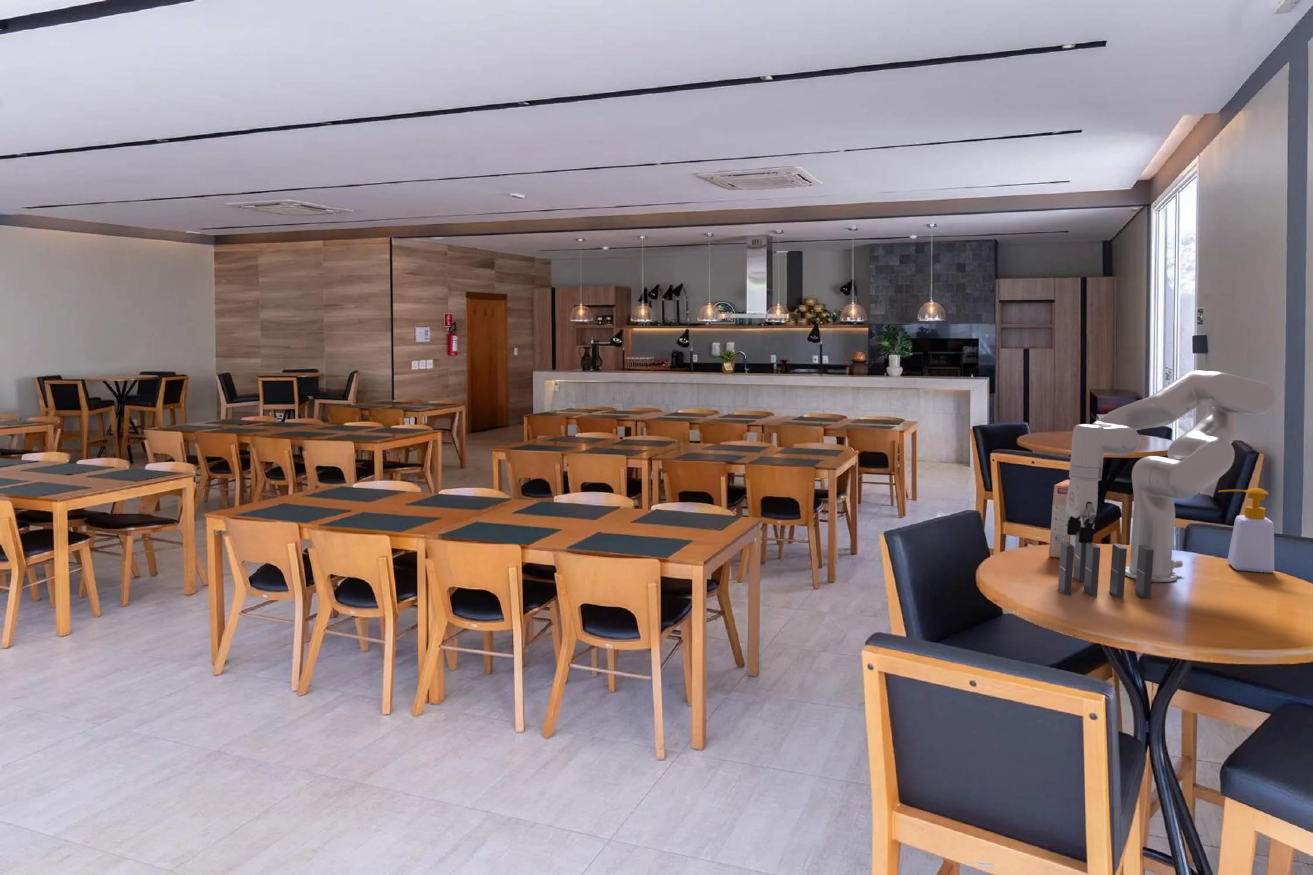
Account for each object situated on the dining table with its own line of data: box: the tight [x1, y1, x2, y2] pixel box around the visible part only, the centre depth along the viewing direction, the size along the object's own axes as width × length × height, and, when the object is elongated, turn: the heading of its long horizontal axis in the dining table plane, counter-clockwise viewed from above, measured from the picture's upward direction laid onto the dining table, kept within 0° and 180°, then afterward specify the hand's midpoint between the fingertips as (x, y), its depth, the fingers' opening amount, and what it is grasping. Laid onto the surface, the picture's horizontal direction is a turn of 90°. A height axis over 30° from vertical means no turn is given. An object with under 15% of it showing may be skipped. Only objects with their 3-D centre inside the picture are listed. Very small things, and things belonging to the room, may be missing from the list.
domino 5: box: [1134, 545, 1154, 600], centre depth 221 cm, size 2×5×12 cm, turn 172°
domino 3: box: [1083, 542, 1101, 597], centre depth 223 cm, size 2×5×12 cm, turn 172°
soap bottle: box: [1218, 487, 1275, 574], centre depth 249 cm, size 10×14×22 cm
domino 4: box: [1108, 543, 1128, 598], centre depth 222 cm, size 2×5×12 cm, turn 172°
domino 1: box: [1057, 542, 1074, 596], centre depth 224 cm, size 2×5×12 cm, turn 172°
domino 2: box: [1072, 532, 1087, 583], centre depth 235 cm, size 2×5×12 cm, turn 172°
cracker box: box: [1048, 479, 1082, 559], centre depth 262 cm, size 14×6×21 cm, turn 142°
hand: (1079, 538), depth 235 cm, fingers open, 9 cm apart
